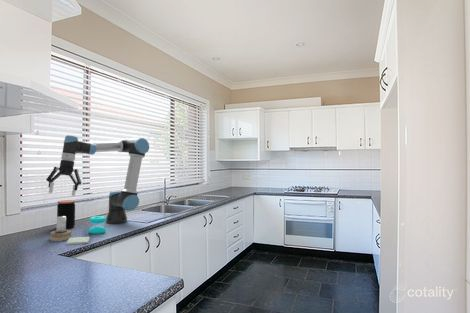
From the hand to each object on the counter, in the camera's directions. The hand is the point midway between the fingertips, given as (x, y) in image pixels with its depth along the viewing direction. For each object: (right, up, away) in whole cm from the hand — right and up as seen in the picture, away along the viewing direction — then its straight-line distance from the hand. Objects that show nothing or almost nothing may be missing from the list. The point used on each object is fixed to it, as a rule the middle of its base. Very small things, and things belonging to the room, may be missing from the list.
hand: (61, 194), depth 187 cm
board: (+16, -26, -11) cm, 32 cm away
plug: (+3, -25, -7) cm, 26 cm away
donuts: (+17, -26, +10) cm, 33 cm away
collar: (+3, -25, -7) cm, 26 cm away
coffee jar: (-9, -25, +21) cm, 34 cm away
